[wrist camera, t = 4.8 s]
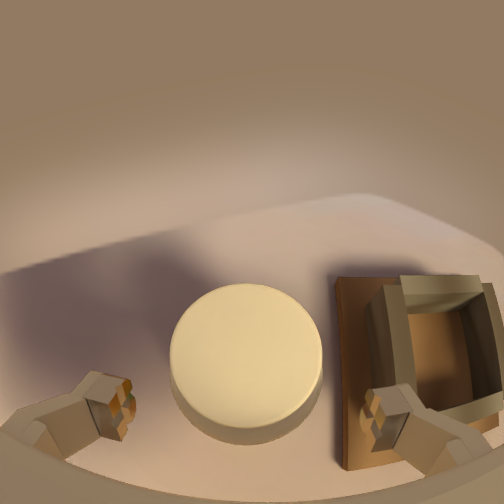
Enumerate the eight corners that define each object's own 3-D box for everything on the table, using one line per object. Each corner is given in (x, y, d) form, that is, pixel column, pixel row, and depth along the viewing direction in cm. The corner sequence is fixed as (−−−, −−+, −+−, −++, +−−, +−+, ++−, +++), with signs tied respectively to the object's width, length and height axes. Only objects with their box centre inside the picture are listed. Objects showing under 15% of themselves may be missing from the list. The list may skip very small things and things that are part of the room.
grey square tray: (342, 468, 12) (368, 479, 9) (334, 284, 19) (352, 250, 16) (490, 427, 12) (527, 419, 9) (467, 283, 19) (495, 256, 15)
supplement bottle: (198, 349, 16) (147, 265, 8) (288, 342, 17) (327, 252, 9) (202, 438, 14) (143, 454, 5) (300, 430, 14) (364, 435, 6)
